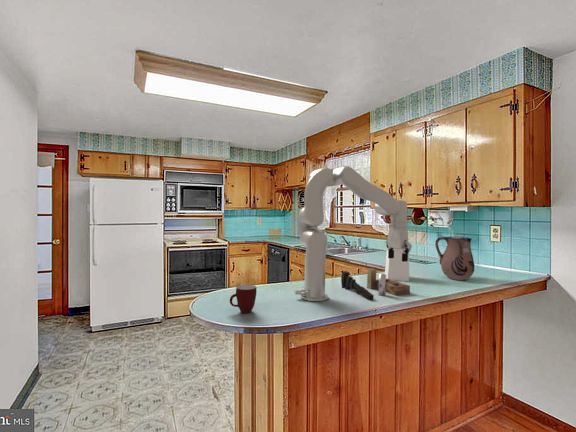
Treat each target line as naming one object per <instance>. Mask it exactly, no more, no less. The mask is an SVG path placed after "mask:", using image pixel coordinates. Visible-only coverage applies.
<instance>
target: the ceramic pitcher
mask: <svg viewBox="0 0 576 432" xmlns="http://www.w3.org/2000/svg"><path fill="white" fill-rule="evenodd" d="M440 240H444V241H445V242H446V244H447V245H446V247H445V250H444V252H443V253H442V252H441V251H440V247H439V242H440ZM471 242H472V238H471V237H464V236H439V237H437V238H436V240H435V249H436V252H437V255H438V256H439V264H440V268H441V271H442V273H443V274H444V276H446V277H447V278H449V279H450V280H455V281H465V280H468V279H469V278H471V277H472V276H473V274H474V273H475V261H474V256H473V253H472V248H471Z"/></svg>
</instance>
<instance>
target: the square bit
mask: <svg viewBox="0 0 576 432" xmlns="http://www.w3.org/2000/svg"><path fill="white" fill-rule="evenodd" d="M366 273H367V276H366V277H367V278H366V279H367V280H366V288H367V289H369V290H376V289H377V288H376V280H377V269H375V268H367V272H366Z"/></svg>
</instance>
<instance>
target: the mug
mask: <svg viewBox="0 0 576 432" xmlns="http://www.w3.org/2000/svg"><path fill="white" fill-rule="evenodd" d="M256 297H257V286H256V285H254V284H240V285H239V284H238V285H237V286H236V288H235V293H234V294H231V296H230V298H229V304H230V305H231V306H232V307H233V308H234V307H236V308H237V307H238V309H239V311H240V312H241V313H242V314H251V312H252V311H253V309H254V307H255V303H256ZM234 298H236V303H237V304H234V303H233V300H234Z"/></svg>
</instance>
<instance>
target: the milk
mask: <svg viewBox="0 0 576 432" xmlns="http://www.w3.org/2000/svg"><path fill="white" fill-rule="evenodd" d="M387 249H388V248H387V247H386V256H385V268H384V269H385V270H384V274H386V279H391V280H394V281H397V282H400V281H405V282H409V281H410V252H409V253H408V261H406V262H402V253H403V252H402V250H401V249H396V248H394V249H393V250H394V258H388V250H387ZM404 250H405V249H404Z"/></svg>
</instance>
